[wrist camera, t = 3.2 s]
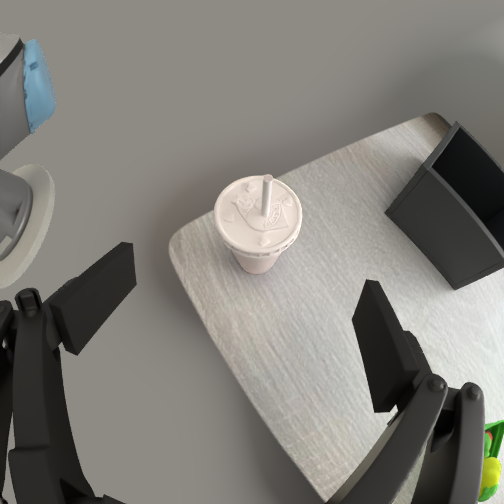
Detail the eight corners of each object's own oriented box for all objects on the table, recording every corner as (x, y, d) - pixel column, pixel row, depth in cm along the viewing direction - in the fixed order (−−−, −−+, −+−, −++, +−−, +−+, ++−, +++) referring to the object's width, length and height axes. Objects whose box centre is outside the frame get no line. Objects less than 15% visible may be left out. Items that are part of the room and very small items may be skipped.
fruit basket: (463, 485, 16) (512, 505, 6) (415, 504, 17) (463, 537, 6) (482, 415, 20) (542, 419, 10) (437, 428, 21) (501, 444, 10)
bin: (384, 212, 30) (422, 164, 21) (426, 163, 33) (456, 120, 24) (455, 290, 27) (508, 265, 17) (484, 226, 30) (524, 195, 21)
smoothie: (268, 299, 27) (283, 246, 14) (213, 267, 28) (180, 192, 15) (298, 246, 29) (331, 161, 16) (245, 218, 30) (241, 122, 17)
